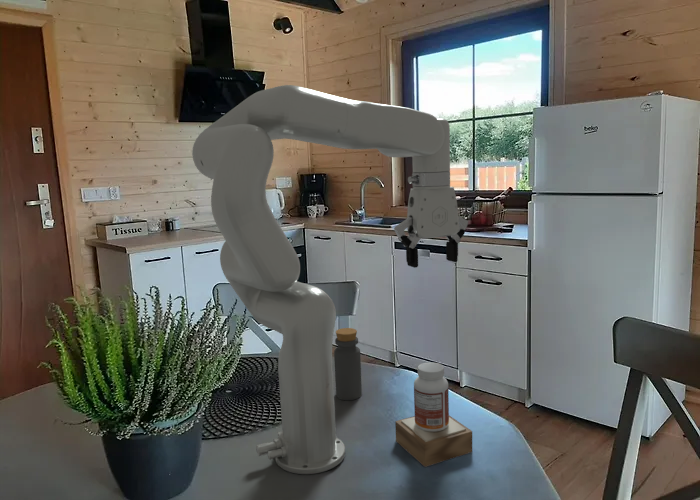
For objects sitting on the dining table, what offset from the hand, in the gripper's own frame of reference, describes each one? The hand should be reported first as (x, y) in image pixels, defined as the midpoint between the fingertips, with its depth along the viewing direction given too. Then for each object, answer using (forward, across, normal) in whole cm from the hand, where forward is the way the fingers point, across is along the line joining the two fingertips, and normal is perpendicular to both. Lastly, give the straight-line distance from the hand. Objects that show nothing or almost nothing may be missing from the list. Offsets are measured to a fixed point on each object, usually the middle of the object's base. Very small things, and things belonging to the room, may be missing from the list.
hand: (432, 263), depth 115 cm
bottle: (+31, -15, +12) cm, 36 cm away
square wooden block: (+30, -11, -16) cm, 36 cm away
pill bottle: (+26, -11, -16) cm, 33 cm away
